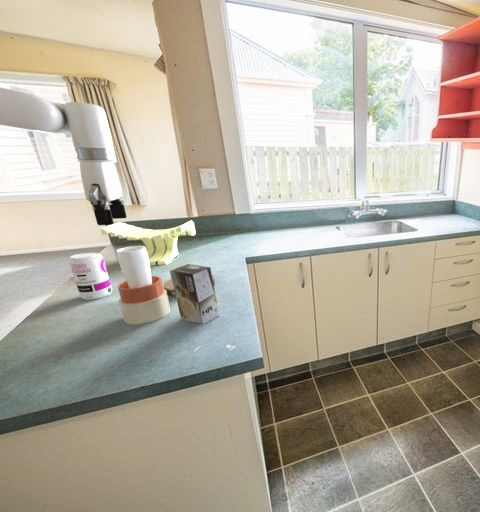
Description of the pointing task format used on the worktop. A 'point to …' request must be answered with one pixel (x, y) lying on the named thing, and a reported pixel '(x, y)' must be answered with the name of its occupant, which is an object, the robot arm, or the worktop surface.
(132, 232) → the slatted curved stool
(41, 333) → the worktop surface
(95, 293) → the supplement can
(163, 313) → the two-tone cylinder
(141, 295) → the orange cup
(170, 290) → the brown flat disc
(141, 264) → the white tumbler
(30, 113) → the robot arm
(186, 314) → the coffee box
